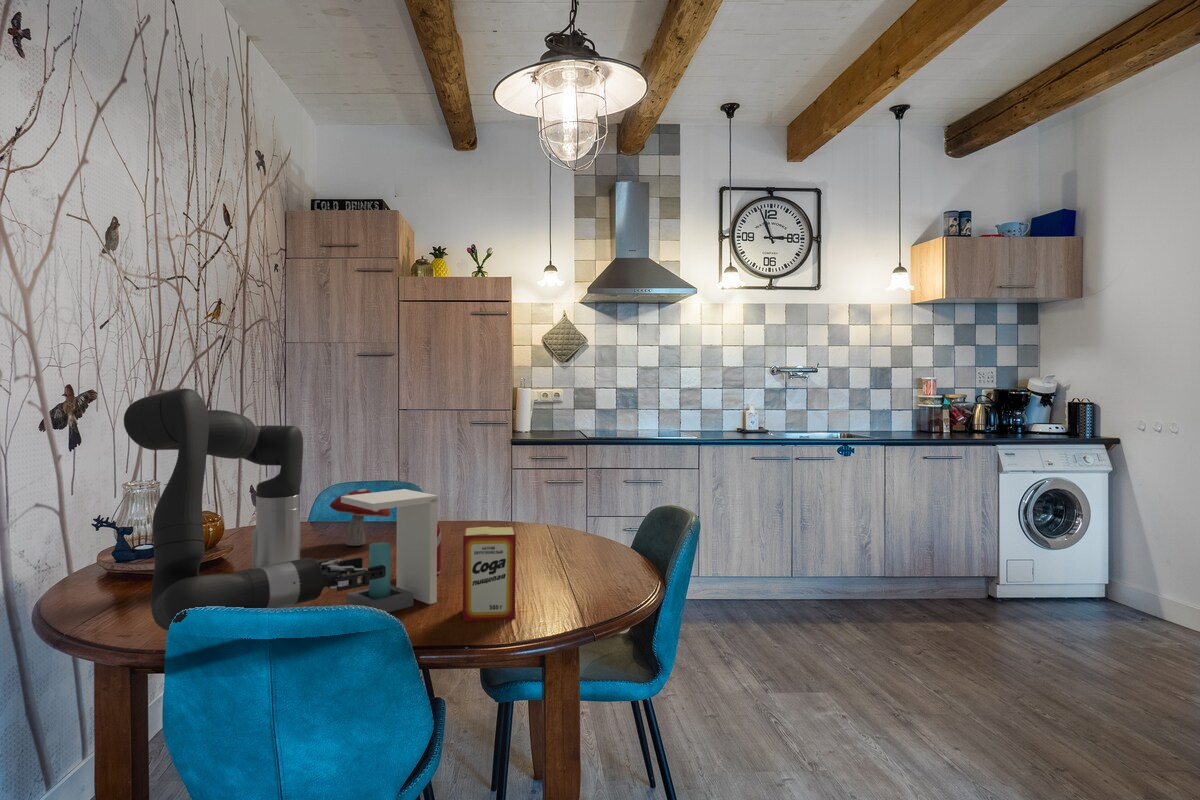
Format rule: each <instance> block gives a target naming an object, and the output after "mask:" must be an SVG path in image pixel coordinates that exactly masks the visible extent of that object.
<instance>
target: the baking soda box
mask: <svg viewBox="0 0 1200 800" xmlns="http://www.w3.org/2000/svg"><path fill="white" fill-rule="evenodd" d="M462 537H463V539H462V541H463V542H462V543H463V544H462V549H463V550H462V622H470V621H471V622H472V621H473V622H474V621H492V620H493V621H495V620H497V621H498V620H515V619H516V560H517V559H516V553H517V552H516V550H517V549H516V547H517V546H516V545H517V544H516V542H517V541H516V540H517V539H516V537H517V535H516V530H515V527H512V526H511V527H510V526H509V527H507V526H505V527H501V526H500V527H490V526H478V527H466V528H464V529H463V536H462Z"/></svg>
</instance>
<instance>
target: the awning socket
mask: <svg viewBox="0 0 1200 800" xmlns="http://www.w3.org/2000/svg"><path fill="white" fill-rule="evenodd" d="M340 496H341V495H340ZM438 502H439V495H438V494H433V493H427V492H422V491H416V490H412V489H406V488H402V489H393V490H386V491H385V490H384V491H383V490H382V491H378V492H377V491H376V492H375V491H374V492H373V493H366V494H357V495H348V496H341V503H345V504H349V505H353V506H357V507H361V508H365V509H369V510H380V509H387V508H389V509H394V508H396V566H395V567H396V577H395V578H396V580H395V581H396V585H392V584H391V596H389V597H384V598H380V599H376V600H373V599H370V598H369V588H364V589H360V590H356V591H352V592H347V593H346V605H347V604H353V605H365V606H369V607H374V608H377V609H382V610H385V611H387V612H388V613H391V612H392V613H393V612H395V611H399V610H403V609H407V608H411V607H414V599H415V600H416V601H419V602H422V603H424V604H428V605H433V604H436V603H437V597H438V596H437V594H438V593H437V591H438V589H437V588H438V587H437V586H438V585H437V583H438V579H437V577H438V576H437V575H438V574H437V521H438Z"/></svg>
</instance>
